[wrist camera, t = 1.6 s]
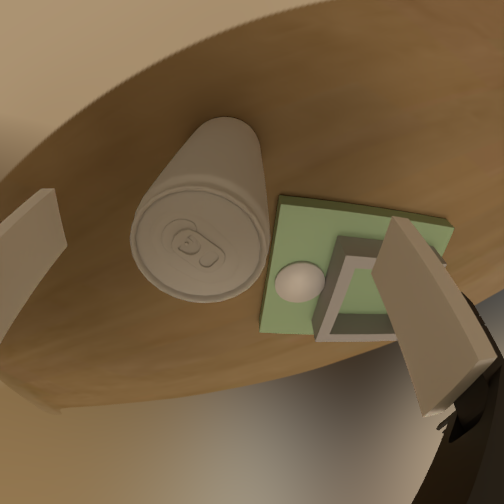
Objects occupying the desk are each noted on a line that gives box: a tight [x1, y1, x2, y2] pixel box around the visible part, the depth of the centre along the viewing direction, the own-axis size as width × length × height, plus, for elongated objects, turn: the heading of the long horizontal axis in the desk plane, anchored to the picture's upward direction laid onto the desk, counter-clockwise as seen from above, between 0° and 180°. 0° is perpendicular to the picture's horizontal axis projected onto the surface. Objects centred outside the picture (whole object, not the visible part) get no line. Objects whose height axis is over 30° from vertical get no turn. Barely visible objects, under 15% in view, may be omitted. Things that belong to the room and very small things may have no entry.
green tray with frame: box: [259, 195, 454, 342], centre depth 24 cm, size 15×13×4 cm
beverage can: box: [130, 117, 270, 303], centre depth 15 cm, size 5×5×12 cm
